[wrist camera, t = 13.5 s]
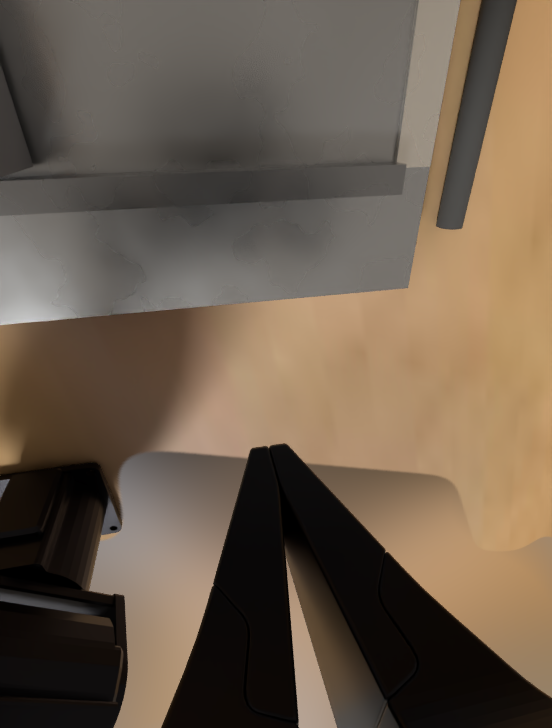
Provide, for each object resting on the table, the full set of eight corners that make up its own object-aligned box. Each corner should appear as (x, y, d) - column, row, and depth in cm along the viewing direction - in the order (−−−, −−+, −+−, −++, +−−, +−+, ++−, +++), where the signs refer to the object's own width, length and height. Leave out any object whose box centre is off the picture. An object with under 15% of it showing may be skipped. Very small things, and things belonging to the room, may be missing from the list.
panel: (381, 266, 20) (418, 296, 17) (-41, 300, 17) (-96, 345, 14) (453, -263, 11) (561, -417, 8) (-380, -374, 8) (-745, -685, 5)
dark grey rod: (453, 222, 20) (467, 228, 19) (431, 224, 19) (444, 230, 18) (536, -147, 13) (565, -168, 12) (505, -150, 13) (531, -172, 12)
